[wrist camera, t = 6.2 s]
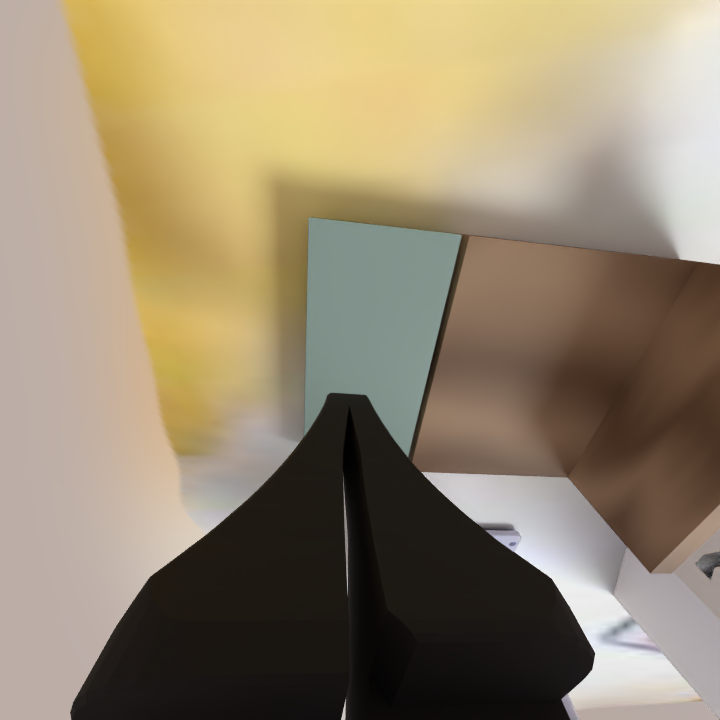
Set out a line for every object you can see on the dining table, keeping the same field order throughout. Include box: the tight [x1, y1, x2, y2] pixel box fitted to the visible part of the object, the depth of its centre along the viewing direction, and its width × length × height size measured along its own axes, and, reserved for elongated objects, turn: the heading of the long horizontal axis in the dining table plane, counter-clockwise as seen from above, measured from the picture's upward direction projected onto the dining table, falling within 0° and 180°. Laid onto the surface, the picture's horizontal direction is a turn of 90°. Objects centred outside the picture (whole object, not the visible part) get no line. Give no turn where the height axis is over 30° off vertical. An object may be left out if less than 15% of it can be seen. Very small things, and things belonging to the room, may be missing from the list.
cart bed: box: [408, 234, 720, 574], centre depth 12 cm, size 12×10×6 cm
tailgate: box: [304, 217, 462, 457], centre depth 13 cm, size 12×1×6 cm
